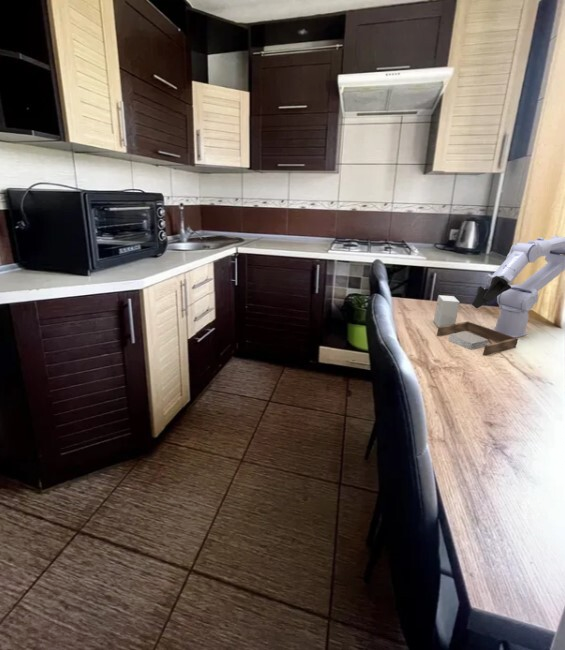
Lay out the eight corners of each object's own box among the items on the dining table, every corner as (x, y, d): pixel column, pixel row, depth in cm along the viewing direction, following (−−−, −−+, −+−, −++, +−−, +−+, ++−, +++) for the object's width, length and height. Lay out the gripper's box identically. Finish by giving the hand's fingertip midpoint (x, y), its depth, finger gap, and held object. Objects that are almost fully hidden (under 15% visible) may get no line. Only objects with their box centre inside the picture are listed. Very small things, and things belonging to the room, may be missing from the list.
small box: (454, 329, 124) (460, 301, 120) (437, 328, 125) (443, 300, 121) (448, 322, 131) (454, 295, 127) (433, 321, 132) (438, 294, 128)
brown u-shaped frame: (466, 329, 124) (467, 321, 123) (515, 347, 110) (518, 338, 109) (436, 335, 118) (438, 327, 117) (485, 355, 103) (487, 346, 102)
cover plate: (464, 338, 117) (466, 331, 117) (486, 346, 111) (488, 339, 110) (448, 341, 114) (449, 334, 113) (470, 350, 107) (472, 343, 106)
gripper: (485, 272, 118) (460, 301, 116) (508, 255, 103) (480, 288, 102) (503, 285, 116) (477, 314, 115) (529, 270, 102) (500, 303, 101)
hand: (480, 303), depth 108 cm, fingers open, 7 cm apart
